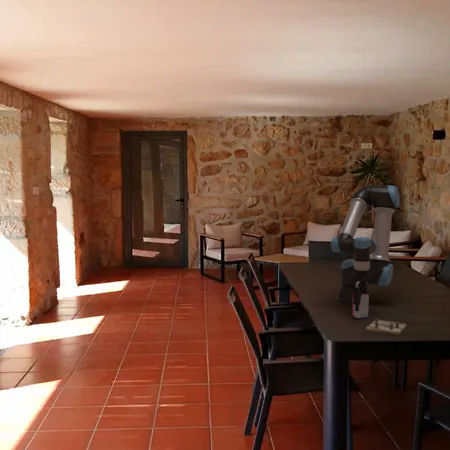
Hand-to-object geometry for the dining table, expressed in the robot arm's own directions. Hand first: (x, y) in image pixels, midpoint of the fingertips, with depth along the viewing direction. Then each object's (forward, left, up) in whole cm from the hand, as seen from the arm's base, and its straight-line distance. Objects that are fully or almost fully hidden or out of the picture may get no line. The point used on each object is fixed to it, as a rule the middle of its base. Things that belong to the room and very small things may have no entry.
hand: (359, 315), depth 262 cm
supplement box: (0, 0, -1) cm, 1 cm away
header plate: (+12, +16, -1) cm, 20 cm away
